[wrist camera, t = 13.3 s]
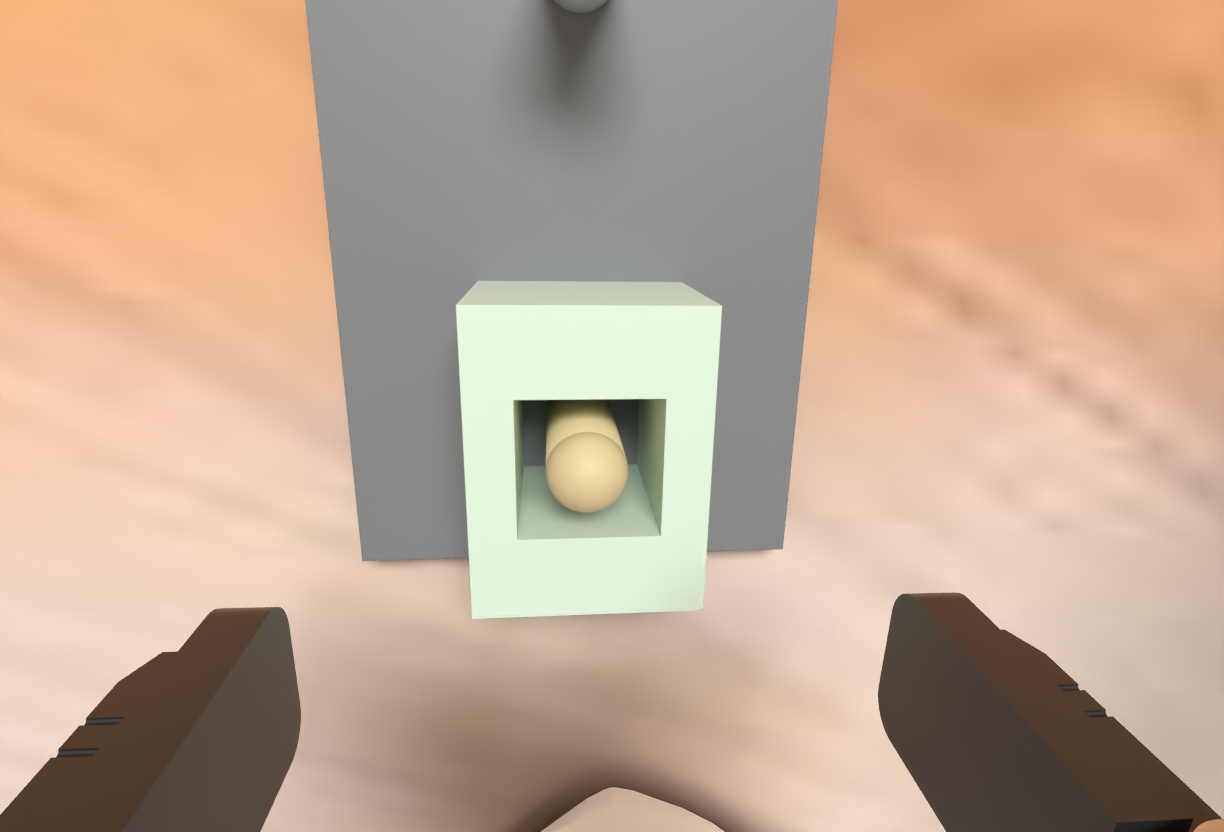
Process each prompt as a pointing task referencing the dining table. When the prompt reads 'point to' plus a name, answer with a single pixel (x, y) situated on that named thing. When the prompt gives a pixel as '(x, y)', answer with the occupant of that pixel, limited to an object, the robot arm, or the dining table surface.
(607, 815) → the bowl
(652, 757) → the dining table surface
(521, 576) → the collar
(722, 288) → the board
